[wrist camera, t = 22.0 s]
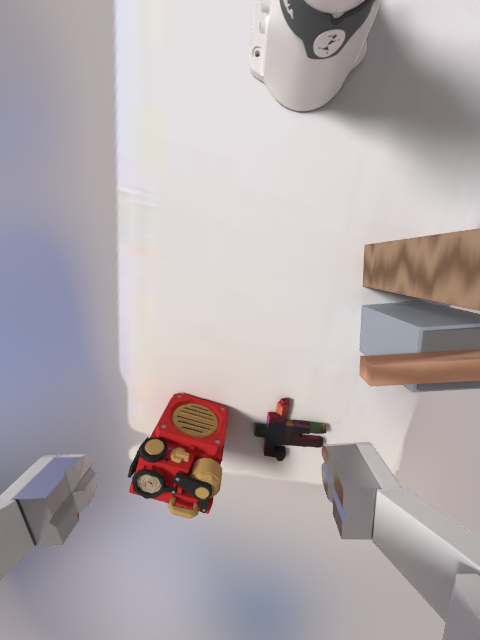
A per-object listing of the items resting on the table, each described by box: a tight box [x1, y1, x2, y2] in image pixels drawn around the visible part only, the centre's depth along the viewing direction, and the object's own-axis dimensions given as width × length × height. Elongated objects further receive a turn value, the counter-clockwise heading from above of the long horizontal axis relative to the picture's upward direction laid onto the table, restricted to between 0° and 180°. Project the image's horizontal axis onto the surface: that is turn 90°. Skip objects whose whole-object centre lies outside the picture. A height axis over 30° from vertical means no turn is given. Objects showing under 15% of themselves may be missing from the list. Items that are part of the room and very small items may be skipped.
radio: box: [128, 393, 228, 518], centre depth 46 cm, size 16×10×20 cm, turn 73°
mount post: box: [363, 229, 480, 310], centre depth 34 cm, size 8×12×24 cm, turn 95°
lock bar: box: [360, 349, 480, 386], centre depth 31 cm, size 3×22×3 cm, turn 94°
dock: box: [360, 301, 480, 392], centre depth 40 cm, size 10×12×17 cm
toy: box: [254, 398, 326, 461], centre depth 55 cm, size 15×16×3 cm
